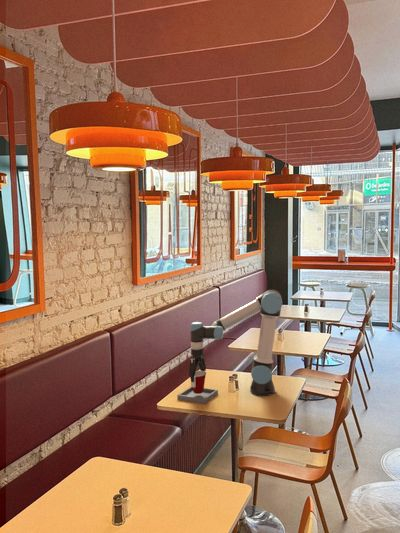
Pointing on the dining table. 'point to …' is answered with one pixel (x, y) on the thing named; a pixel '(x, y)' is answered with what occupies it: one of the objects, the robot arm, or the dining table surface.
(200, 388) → the plastic cup
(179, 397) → the tray
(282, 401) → the dining table surface
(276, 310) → the robot arm
